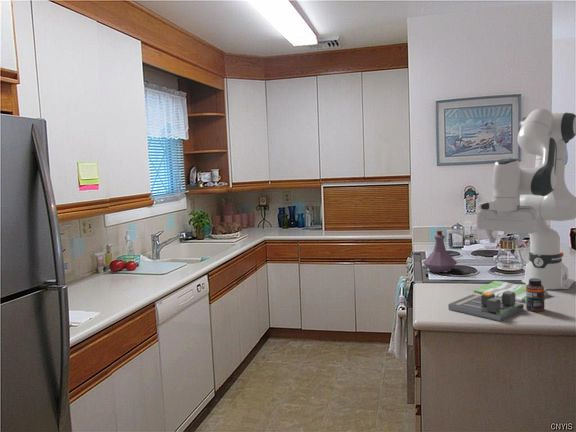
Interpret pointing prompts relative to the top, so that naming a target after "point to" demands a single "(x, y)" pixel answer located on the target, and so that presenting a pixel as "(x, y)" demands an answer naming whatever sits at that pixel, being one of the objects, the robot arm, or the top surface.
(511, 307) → the panel
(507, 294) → the block
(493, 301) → the block
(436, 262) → the flask
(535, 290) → the supplement bottle
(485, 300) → the breaker mid
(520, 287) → the dish towel
